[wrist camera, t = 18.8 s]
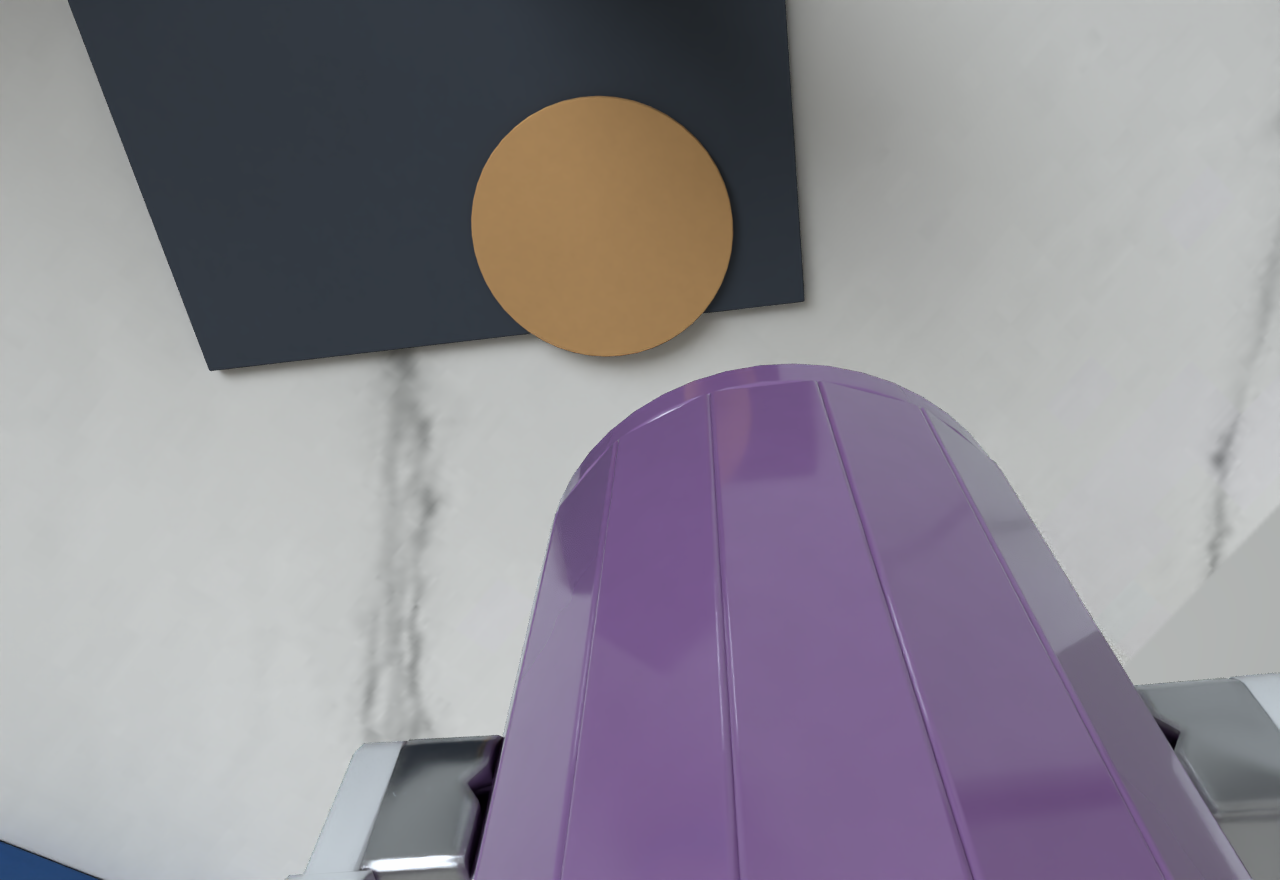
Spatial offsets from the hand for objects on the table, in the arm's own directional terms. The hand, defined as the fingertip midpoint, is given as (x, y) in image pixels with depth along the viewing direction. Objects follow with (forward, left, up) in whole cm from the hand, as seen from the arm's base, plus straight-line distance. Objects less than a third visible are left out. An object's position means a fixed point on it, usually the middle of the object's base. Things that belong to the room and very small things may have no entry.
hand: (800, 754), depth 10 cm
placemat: (+8, -6, -22) cm, 24 cm away
